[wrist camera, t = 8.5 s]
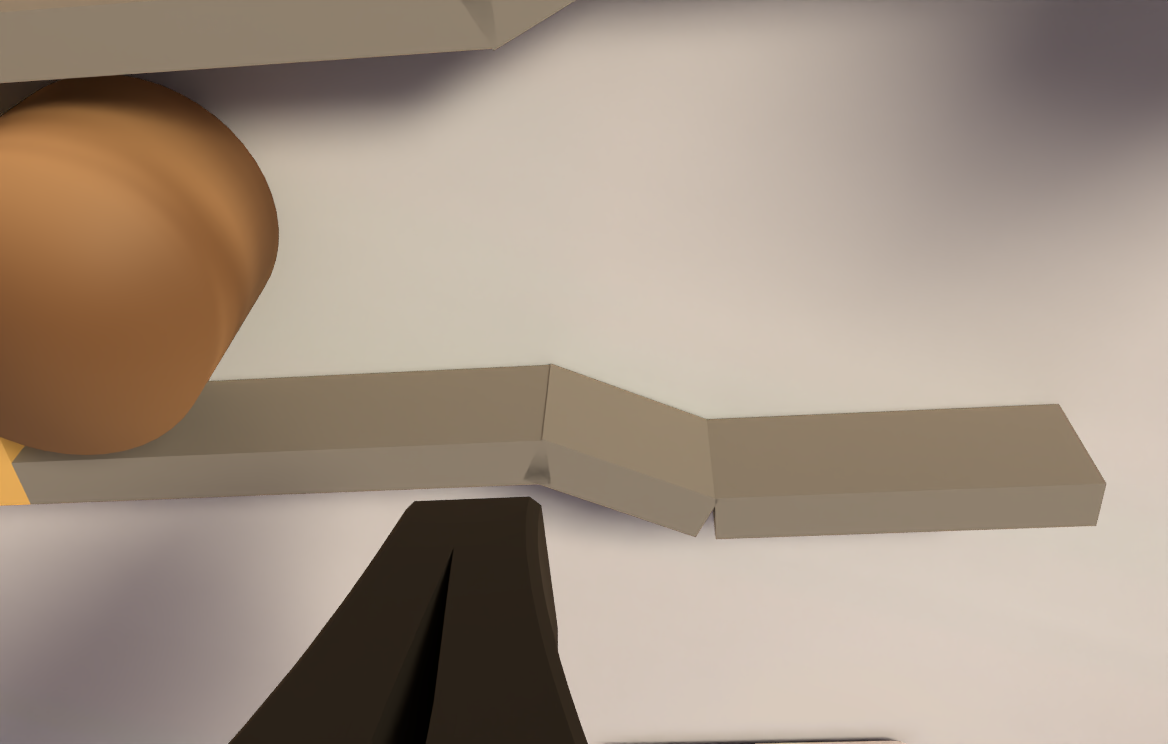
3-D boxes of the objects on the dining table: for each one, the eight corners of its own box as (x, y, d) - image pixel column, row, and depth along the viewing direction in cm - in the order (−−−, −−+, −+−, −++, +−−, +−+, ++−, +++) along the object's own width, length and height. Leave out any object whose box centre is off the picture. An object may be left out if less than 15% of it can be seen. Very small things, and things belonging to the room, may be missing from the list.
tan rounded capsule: (301, 331, 21) (238, 455, 18) (44, 332, 21) (-66, 454, 18) (249, 70, 18) (163, 159, 15) (-47, 75, 18) (-198, 162, 15)
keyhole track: (1185, -227, 15) (1276, -211, 13) (1050, 444, 22) (1095, 526, 20) (-198, -109, 17) (-316, -79, 15) (65, 484, 23) (9, 564, 21)
